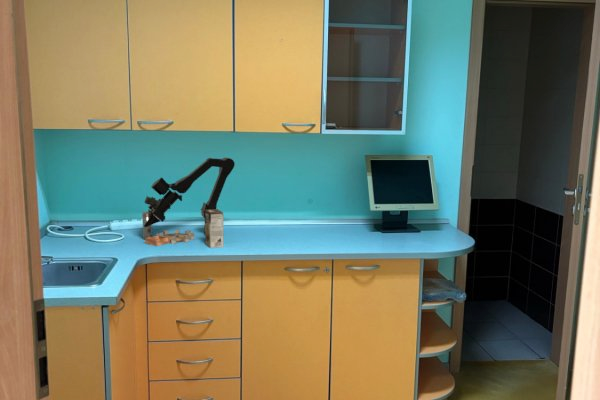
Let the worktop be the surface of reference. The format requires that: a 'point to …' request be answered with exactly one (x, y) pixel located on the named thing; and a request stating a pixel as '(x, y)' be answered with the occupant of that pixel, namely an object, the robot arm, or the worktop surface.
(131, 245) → the worktop surface
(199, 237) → the worktop surface
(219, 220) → the coffee box
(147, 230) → the pin
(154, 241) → the sprocket
